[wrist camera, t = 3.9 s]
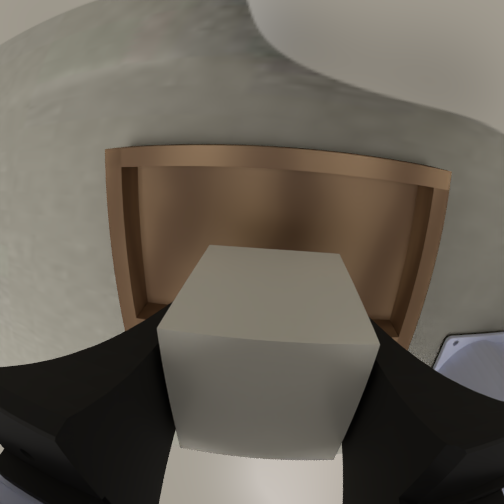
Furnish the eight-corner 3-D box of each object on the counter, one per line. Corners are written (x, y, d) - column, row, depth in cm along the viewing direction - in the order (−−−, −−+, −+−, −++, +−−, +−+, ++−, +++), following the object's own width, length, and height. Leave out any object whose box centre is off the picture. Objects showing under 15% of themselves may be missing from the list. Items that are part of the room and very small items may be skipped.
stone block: (339, 253, 10) (380, 344, 5) (320, 355, 12) (333, 459, 7) (209, 244, 10) (156, 328, 6) (211, 347, 12) (180, 447, 7)
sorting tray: (427, 165, 16) (451, 171, 13) (360, 414, 23) (366, 439, 20) (130, 146, 17) (105, 149, 14) (159, 398, 24) (149, 422, 22)
